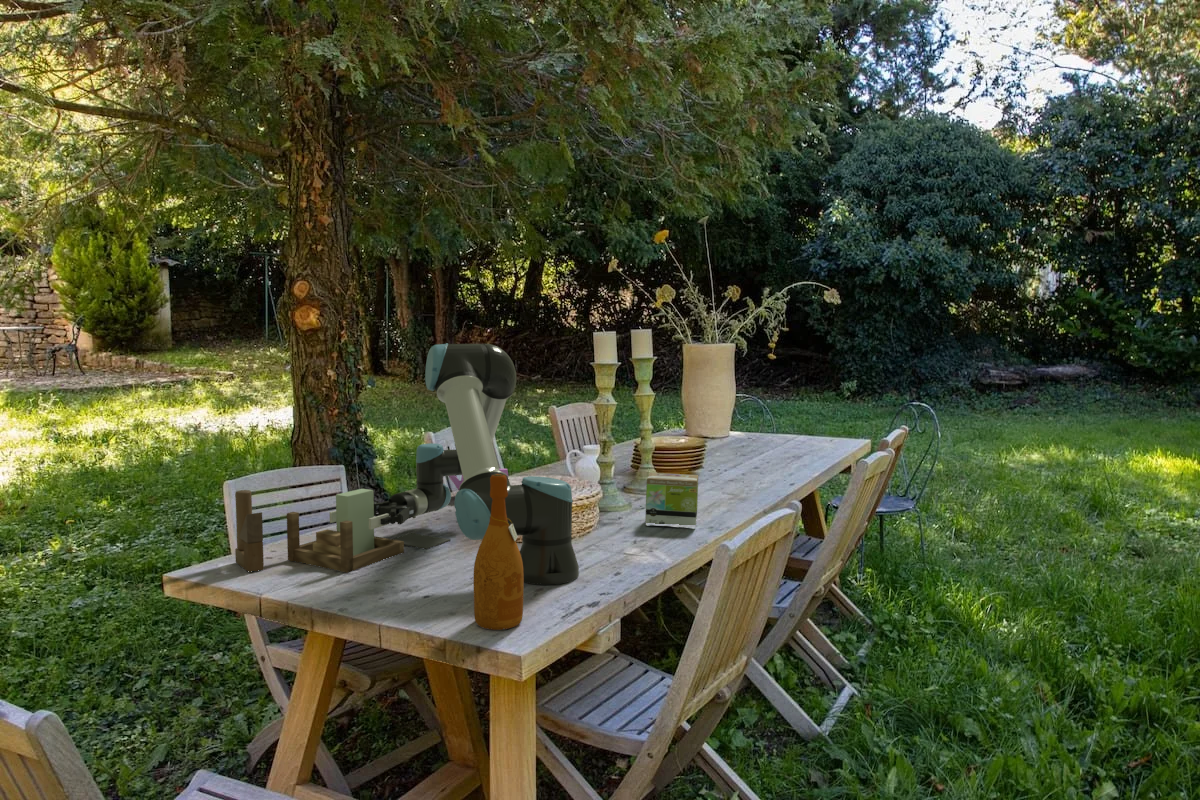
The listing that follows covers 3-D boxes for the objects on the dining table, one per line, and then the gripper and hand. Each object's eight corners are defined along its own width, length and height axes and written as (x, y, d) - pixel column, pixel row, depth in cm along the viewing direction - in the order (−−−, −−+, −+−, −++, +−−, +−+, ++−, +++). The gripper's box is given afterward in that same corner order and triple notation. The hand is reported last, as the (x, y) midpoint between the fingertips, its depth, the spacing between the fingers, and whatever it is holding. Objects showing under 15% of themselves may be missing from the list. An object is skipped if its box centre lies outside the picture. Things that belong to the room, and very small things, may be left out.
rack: (404, 552, 211) (403, 507, 210) (347, 572, 194) (346, 523, 193) (347, 542, 220) (346, 498, 219) (287, 560, 203) (286, 513, 202)
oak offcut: (349, 552, 203) (349, 542, 203) (341, 556, 200) (340, 546, 199) (321, 550, 205) (321, 539, 205) (313, 553, 202) (312, 543, 202)
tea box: (644, 527, 240) (645, 477, 239) (648, 519, 250) (648, 471, 249) (696, 529, 238) (697, 479, 237) (697, 521, 248) (698, 473, 247)
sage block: (374, 550, 213) (373, 490, 211) (348, 559, 205) (347, 496, 203) (362, 548, 215) (361, 488, 213) (337, 556, 207) (335, 494, 205)
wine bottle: (496, 636, 155) (496, 481, 153) (463, 623, 162) (462, 474, 159) (533, 622, 163) (534, 474, 160) (500, 610, 169) (500, 467, 167)
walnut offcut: (347, 543, 202) (346, 533, 202) (336, 546, 199) (335, 536, 199) (327, 539, 206) (327, 529, 205) (316, 542, 203) (316, 532, 202)
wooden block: (248, 573, 193) (246, 498, 191) (235, 562, 201) (232, 490, 199) (264, 570, 195) (262, 496, 193) (250, 560, 203) (248, 489, 202)
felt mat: (450, 540, 223) (450, 539, 223) (426, 549, 214) (426, 548, 214) (410, 534, 230) (410, 532, 230) (385, 542, 221) (385, 540, 221)
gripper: (442, 523, 221) (387, 541, 202) (373, 512, 233) (315, 528, 214) (442, 496, 220) (386, 512, 201) (373, 486, 232) (314, 500, 213)
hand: (349, 520), depth 208 cm, fingers open, 13 cm apart
